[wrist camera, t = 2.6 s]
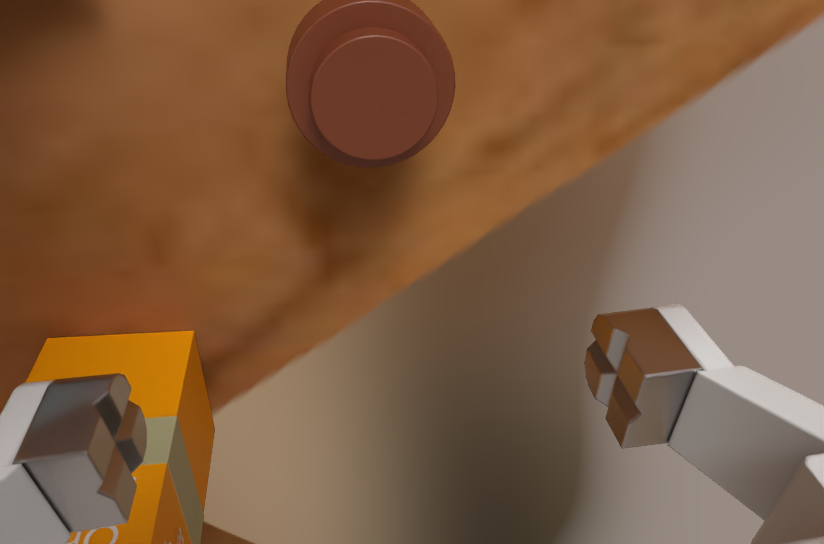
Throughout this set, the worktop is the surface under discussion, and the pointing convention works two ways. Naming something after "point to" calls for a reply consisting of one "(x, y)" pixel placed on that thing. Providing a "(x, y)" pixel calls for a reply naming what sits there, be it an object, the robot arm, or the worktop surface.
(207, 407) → the orange juice
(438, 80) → the brown stepped knob
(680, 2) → the worktop surface
